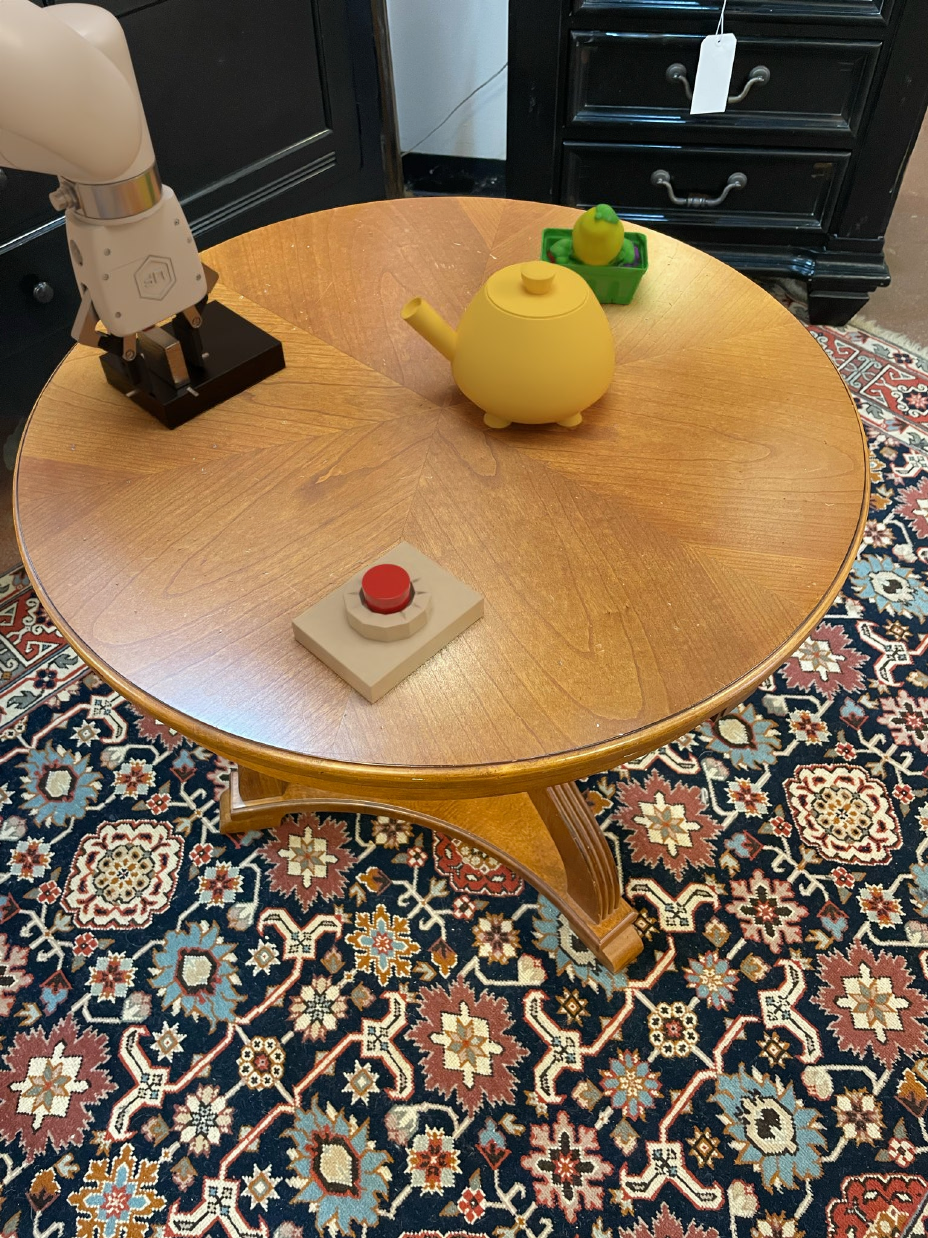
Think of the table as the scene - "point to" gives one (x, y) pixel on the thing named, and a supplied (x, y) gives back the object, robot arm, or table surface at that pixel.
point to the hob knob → (164, 356)
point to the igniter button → (386, 589)
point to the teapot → (526, 345)
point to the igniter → (388, 624)
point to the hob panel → (206, 367)
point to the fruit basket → (599, 254)
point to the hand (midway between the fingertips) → (167, 371)
